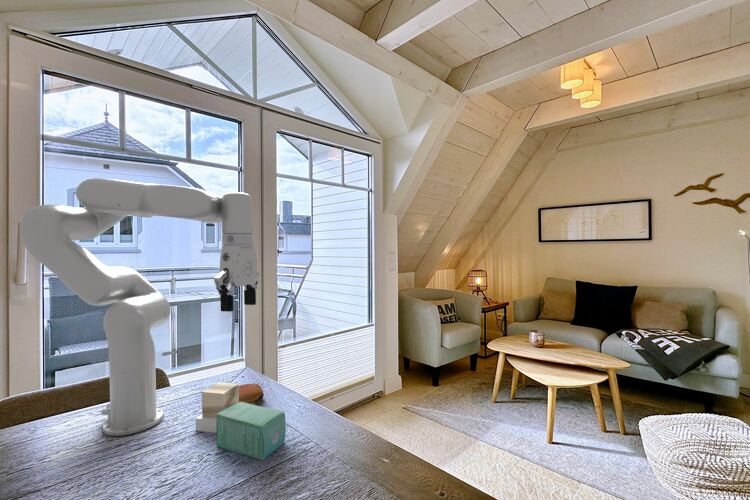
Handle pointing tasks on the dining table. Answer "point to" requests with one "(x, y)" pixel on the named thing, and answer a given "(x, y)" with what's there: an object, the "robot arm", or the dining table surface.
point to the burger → (250, 393)
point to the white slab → (206, 424)
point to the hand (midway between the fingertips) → (239, 307)
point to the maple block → (219, 398)
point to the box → (250, 430)
